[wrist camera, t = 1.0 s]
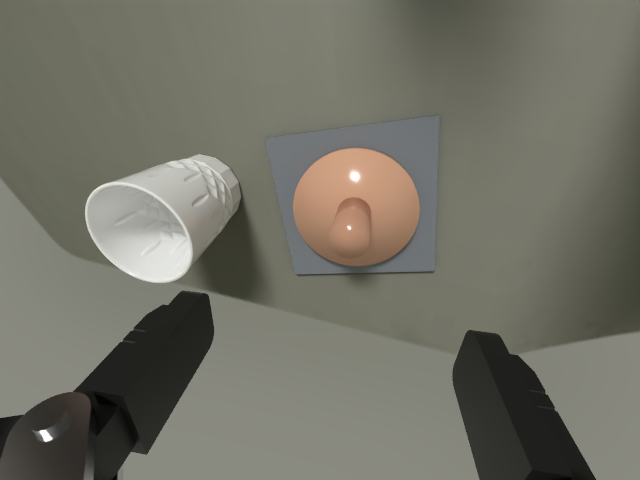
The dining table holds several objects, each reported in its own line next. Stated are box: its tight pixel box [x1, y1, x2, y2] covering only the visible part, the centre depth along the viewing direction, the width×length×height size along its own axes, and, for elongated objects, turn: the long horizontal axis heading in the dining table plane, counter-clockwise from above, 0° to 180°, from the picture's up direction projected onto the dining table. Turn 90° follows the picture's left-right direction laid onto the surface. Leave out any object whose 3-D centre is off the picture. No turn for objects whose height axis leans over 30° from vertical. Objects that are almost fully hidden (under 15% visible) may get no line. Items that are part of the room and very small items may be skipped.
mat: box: [265, 115, 440, 274], centre depth 27 cm, size 14×14×1 cm
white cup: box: [85, 154, 241, 283], centre depth 25 cm, size 8×8×10 cm
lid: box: [293, 147, 420, 266], centre depth 25 cm, size 11×11×6 cm
